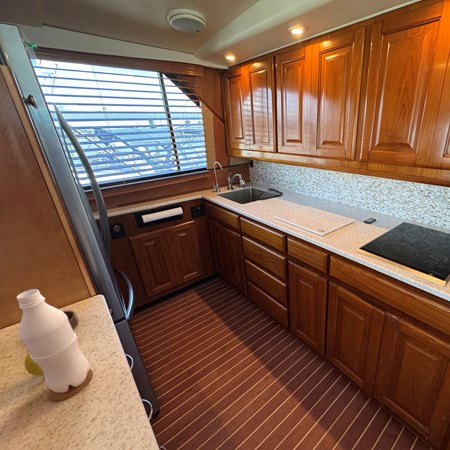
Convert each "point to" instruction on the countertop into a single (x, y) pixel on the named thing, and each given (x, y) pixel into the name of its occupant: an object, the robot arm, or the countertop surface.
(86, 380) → the cork coaster
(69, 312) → the ring
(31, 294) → the water bottle
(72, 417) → the countertop surface
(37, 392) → the countertop surface
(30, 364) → the lemon
